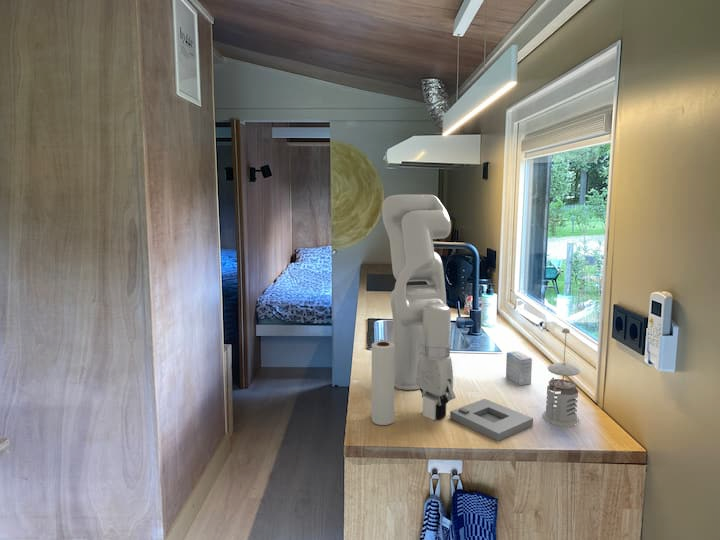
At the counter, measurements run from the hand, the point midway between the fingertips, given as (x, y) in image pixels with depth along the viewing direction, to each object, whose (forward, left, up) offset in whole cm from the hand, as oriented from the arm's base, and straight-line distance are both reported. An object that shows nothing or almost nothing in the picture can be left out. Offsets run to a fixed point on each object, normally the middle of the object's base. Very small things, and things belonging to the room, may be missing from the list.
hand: (434, 414), depth 138 cm
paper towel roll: (-6, -13, 0) cm, 14 cm away
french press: (+22, +25, 0) cm, 33 cm away
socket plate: (+12, +9, 0) cm, 15 cm away
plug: (0, 0, 0) cm, 0 cm away
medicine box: (-2, +40, -1) cm, 40 cm away
